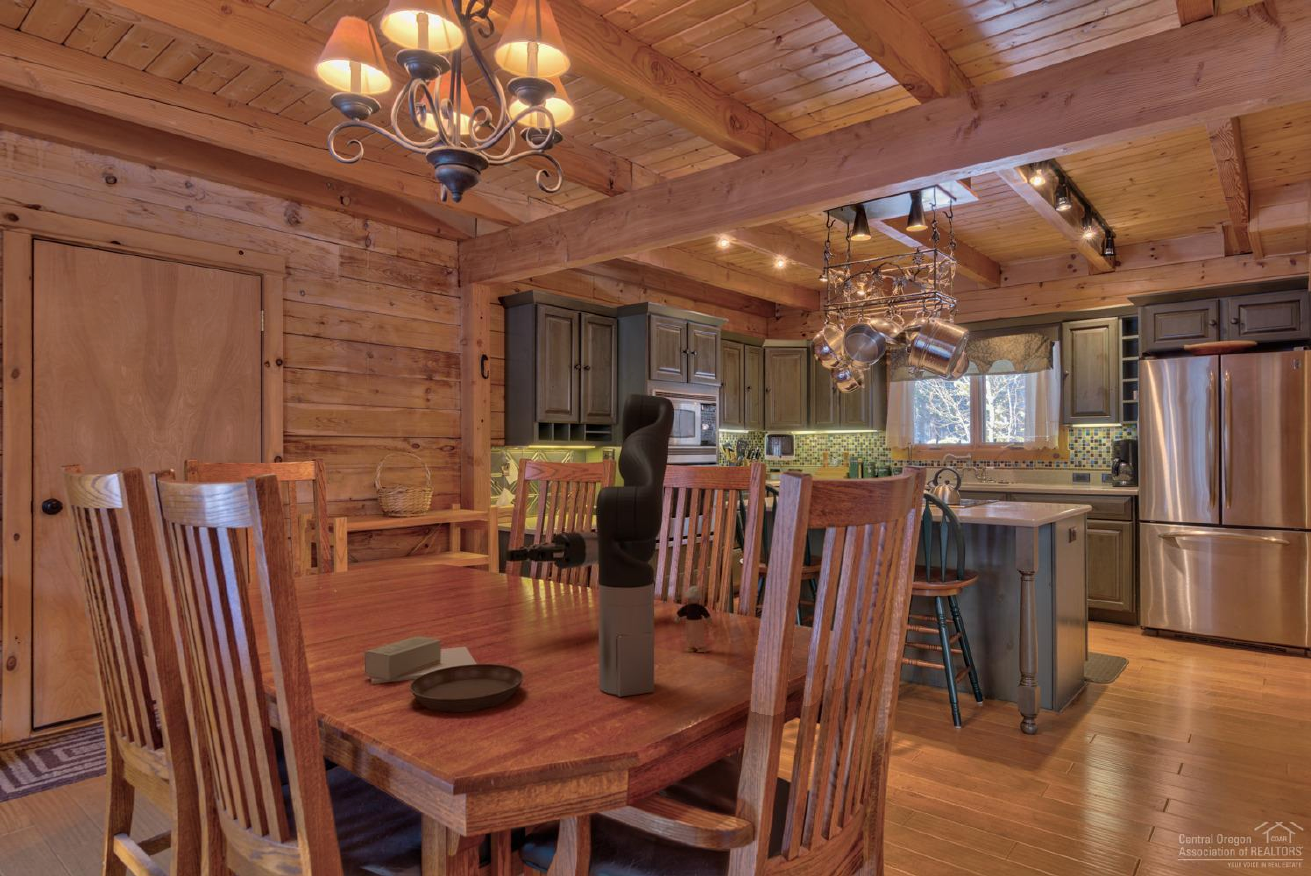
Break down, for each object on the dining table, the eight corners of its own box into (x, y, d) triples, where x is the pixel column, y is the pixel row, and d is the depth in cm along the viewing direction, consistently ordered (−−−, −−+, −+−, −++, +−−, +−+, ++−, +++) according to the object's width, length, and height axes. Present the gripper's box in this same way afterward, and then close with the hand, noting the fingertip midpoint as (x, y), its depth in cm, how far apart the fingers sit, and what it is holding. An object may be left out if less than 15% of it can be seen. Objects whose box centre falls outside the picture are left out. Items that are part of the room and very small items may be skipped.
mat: (479, 671, 134) (479, 667, 134) (371, 684, 127) (371, 680, 127) (465, 649, 148) (465, 646, 148) (368, 659, 141) (368, 656, 141)
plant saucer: (407, 722, 109) (407, 701, 109) (411, 686, 126) (411, 668, 126) (529, 710, 114) (529, 690, 114) (518, 677, 131) (518, 659, 131)
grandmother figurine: (713, 648, 148) (713, 584, 148) (713, 653, 144) (712, 587, 145) (675, 647, 149) (674, 583, 149) (673, 652, 145) (673, 587, 145)
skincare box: (417, 658, 140) (363, 676, 129) (417, 634, 140) (363, 650, 130) (442, 662, 137) (389, 681, 126) (441, 638, 137) (389, 655, 126)
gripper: (559, 530, 167) (490, 535, 156) (596, 533, 158) (526, 539, 146) (559, 564, 167) (490, 571, 155) (596, 569, 157) (526, 578, 146)
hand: (508, 556), depth 151 cm, fingers closed
